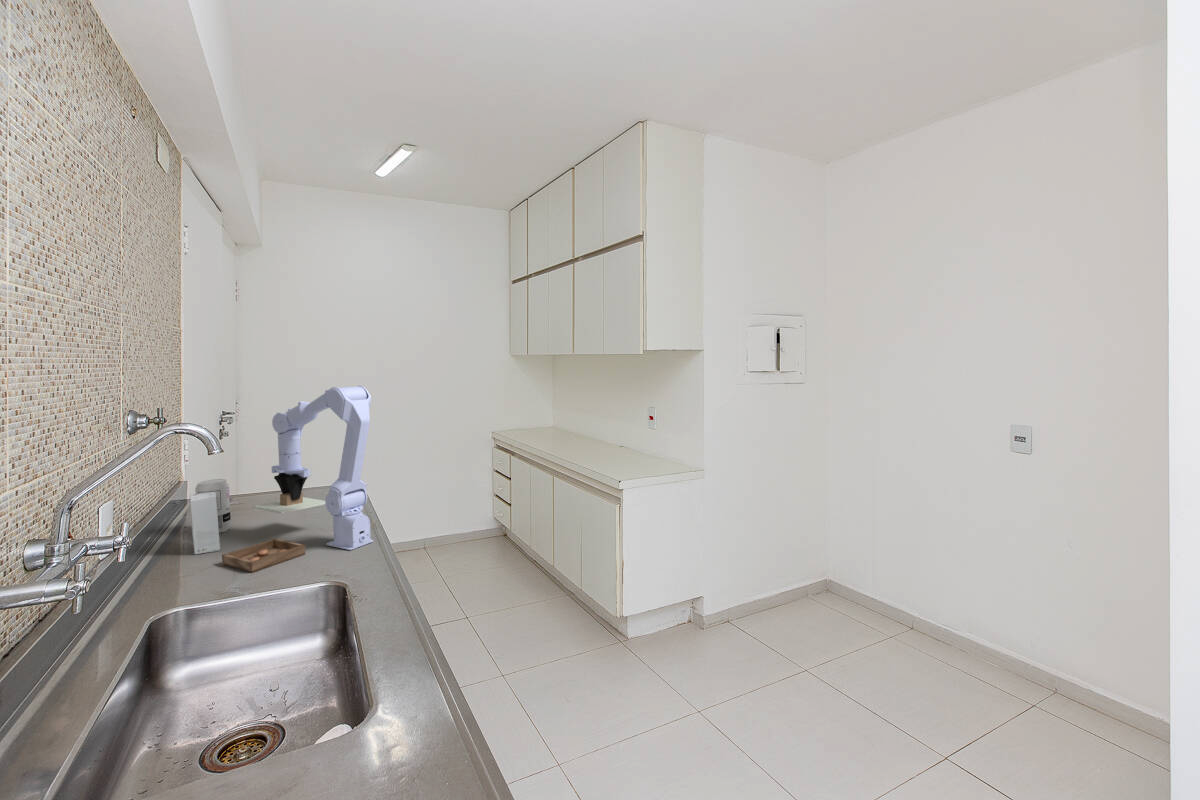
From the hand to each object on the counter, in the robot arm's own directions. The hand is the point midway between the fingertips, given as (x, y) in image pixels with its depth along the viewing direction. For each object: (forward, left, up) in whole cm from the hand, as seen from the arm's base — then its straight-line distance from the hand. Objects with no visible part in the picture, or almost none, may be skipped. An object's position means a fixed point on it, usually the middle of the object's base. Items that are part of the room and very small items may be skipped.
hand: (291, 498), depth 163 cm
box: (-13, +17, -10) cm, 24 cm away
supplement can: (+23, +9, -11) cm, 27 cm away
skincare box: (+9, +19, -11) cm, 23 cm away
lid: (0, 0, -2) cm, 2 cm away
